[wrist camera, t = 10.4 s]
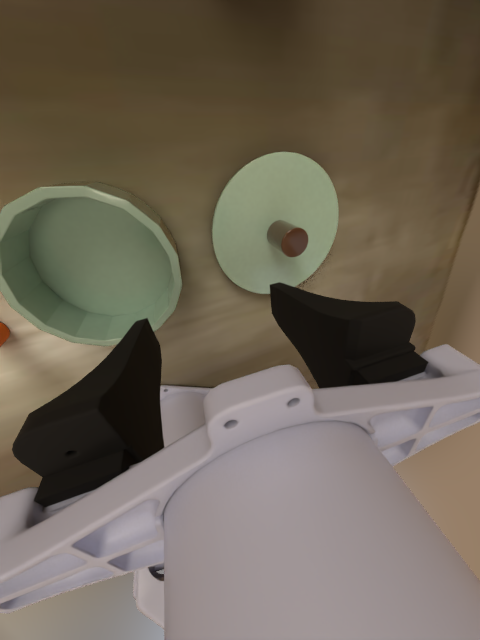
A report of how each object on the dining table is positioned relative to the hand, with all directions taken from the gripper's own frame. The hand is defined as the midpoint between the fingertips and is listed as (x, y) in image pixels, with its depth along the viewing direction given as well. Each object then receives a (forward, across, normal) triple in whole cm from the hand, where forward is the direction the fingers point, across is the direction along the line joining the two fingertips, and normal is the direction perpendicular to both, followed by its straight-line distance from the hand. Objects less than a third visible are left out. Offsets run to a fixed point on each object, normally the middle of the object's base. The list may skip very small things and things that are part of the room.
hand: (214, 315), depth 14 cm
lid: (+10, -8, -1) cm, 13 cm away
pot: (+10, +7, -2) cm, 13 cm away
